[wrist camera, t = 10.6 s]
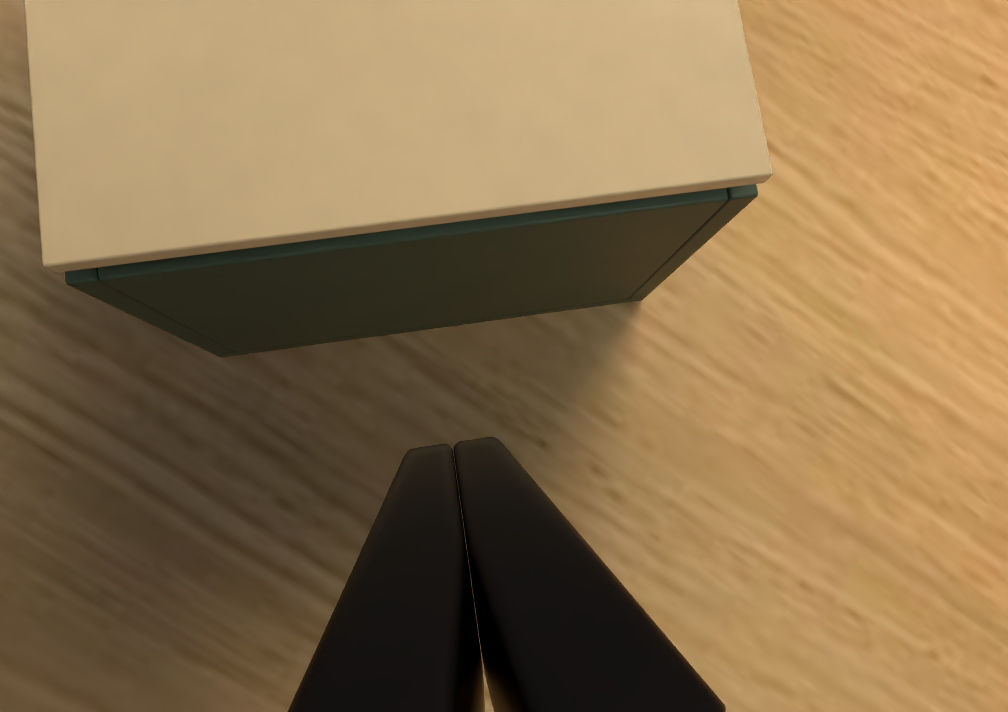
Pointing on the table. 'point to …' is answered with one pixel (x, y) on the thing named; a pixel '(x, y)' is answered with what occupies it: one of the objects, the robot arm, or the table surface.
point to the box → (417, 274)
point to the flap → (370, 116)
